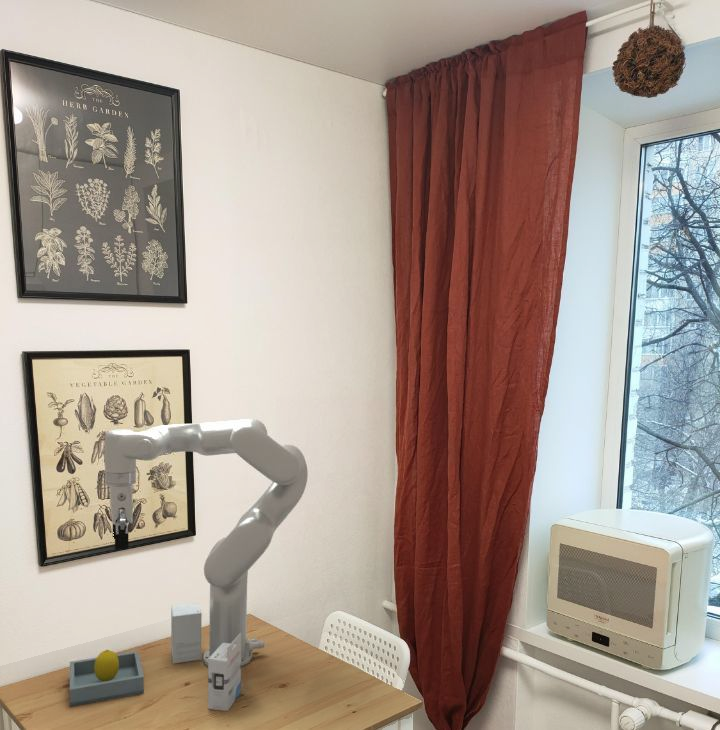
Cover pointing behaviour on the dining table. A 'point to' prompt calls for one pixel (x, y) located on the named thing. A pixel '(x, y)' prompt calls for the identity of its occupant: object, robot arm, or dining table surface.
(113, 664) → the lemon
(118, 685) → the walled box
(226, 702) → the ink box
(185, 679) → the dining table surface
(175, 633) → the supplement box
